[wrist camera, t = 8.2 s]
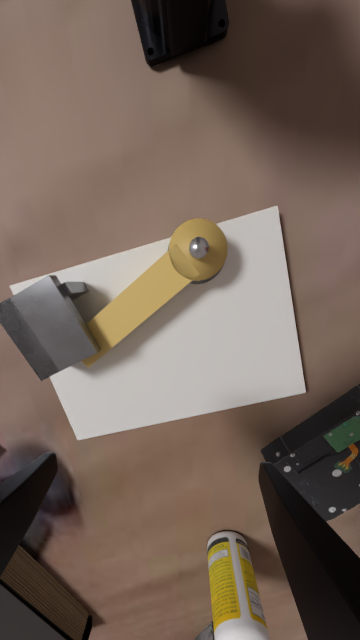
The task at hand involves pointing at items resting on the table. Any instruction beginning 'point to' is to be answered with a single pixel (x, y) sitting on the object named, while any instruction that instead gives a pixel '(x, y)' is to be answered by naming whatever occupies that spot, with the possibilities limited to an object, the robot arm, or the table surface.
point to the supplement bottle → (234, 590)
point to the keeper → (49, 325)
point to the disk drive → (323, 456)
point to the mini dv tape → (207, 633)
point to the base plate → (188, 336)
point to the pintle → (199, 254)
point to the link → (159, 284)
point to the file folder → (38, 604)
